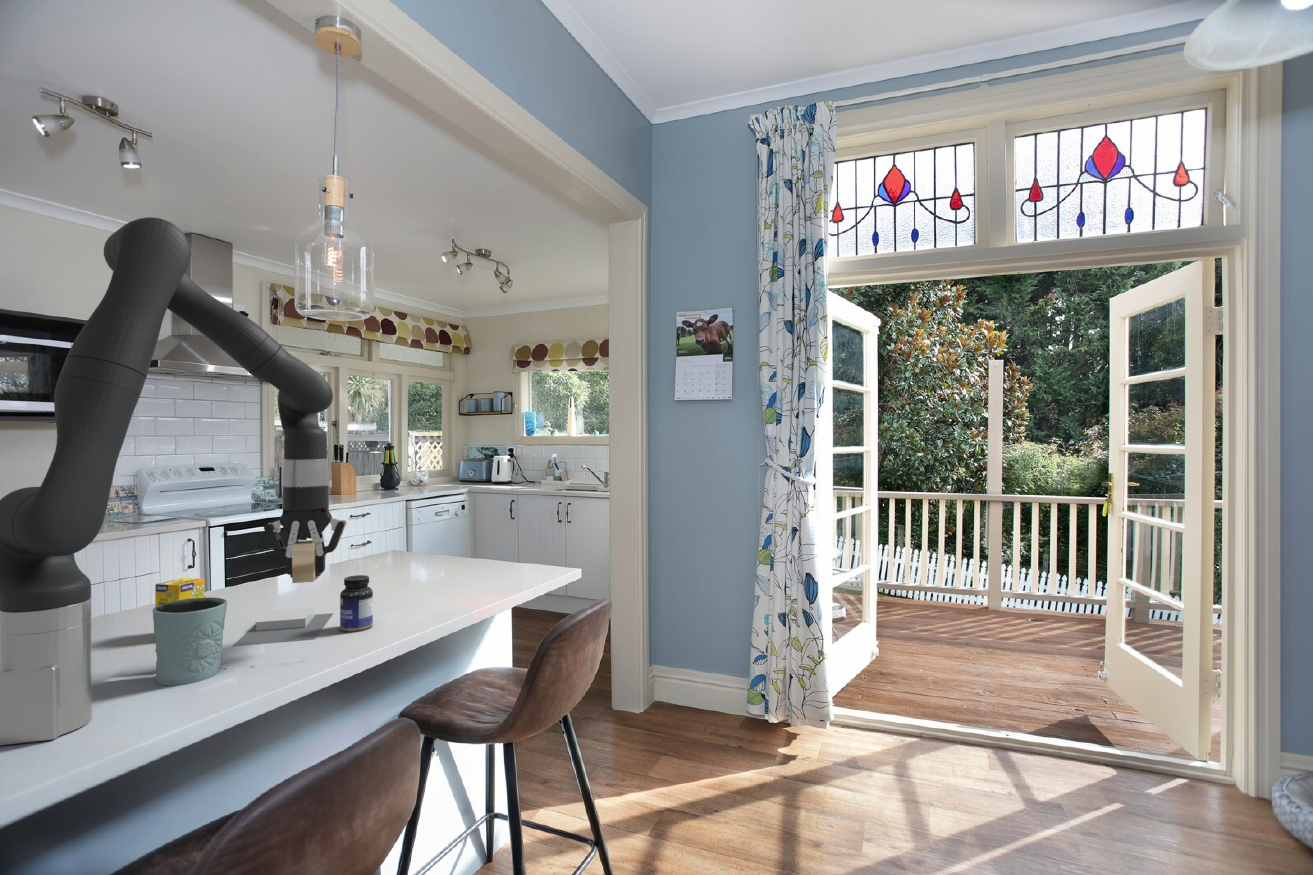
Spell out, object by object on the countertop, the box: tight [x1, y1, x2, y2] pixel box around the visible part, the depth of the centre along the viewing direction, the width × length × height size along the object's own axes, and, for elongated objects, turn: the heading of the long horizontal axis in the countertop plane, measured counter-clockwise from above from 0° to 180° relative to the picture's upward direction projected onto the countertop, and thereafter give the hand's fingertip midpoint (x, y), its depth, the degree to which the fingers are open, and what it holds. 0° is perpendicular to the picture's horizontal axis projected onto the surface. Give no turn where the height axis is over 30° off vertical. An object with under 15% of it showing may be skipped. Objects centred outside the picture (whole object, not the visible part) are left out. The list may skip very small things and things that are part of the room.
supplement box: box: [154, 577, 206, 608], centre depth 129 cm, size 6×6×11 cm
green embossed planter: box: [152, 596, 228, 686], centre depth 108 cm, size 10×10×12 cm
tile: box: [255, 606, 316, 631], centre depth 135 cm, size 2×9×9 cm
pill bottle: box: [339, 574, 374, 634], centre depth 132 cm, size 6×6×11 cm
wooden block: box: [291, 539, 331, 584], centre depth 123 cm, size 13×4×7 cm, turn 17°
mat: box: [232, 612, 334, 647], centre depth 132 cm, size 19×14×1 cm
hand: (306, 575), depth 119 cm, fingers closed on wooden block, 3 cm apart
